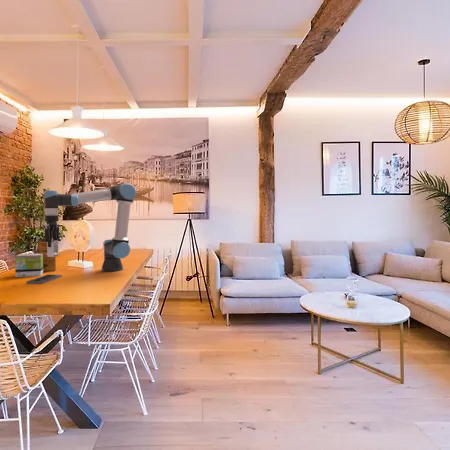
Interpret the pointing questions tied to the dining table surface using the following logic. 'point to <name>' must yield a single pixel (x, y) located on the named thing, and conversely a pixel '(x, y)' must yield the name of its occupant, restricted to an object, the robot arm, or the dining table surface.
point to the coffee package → (46, 258)
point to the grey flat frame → (43, 279)
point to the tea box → (28, 265)
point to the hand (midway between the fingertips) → (52, 251)
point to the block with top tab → (55, 249)
